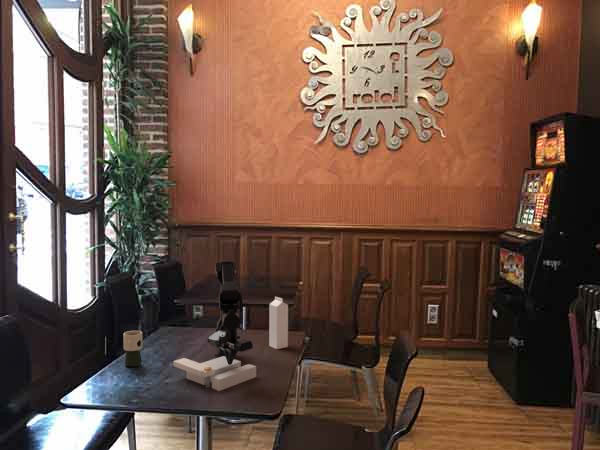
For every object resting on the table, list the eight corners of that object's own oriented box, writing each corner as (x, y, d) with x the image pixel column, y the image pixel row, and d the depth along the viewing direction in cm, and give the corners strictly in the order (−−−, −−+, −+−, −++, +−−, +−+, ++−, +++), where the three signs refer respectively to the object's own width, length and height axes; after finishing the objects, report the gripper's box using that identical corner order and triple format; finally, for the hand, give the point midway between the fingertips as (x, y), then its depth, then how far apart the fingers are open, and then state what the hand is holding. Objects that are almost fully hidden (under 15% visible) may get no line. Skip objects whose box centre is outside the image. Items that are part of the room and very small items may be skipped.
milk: (276, 349, 229) (276, 299, 227) (269, 346, 233) (269, 297, 232) (288, 347, 232) (288, 297, 230) (280, 343, 237) (280, 295, 235)
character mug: (139, 370, 202) (138, 336, 201) (120, 370, 201) (119, 336, 200) (145, 360, 212) (145, 329, 211) (127, 361, 212) (127, 329, 211)
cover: (204, 377, 182) (204, 370, 182) (173, 365, 194) (173, 359, 194) (215, 373, 186) (215, 367, 186) (184, 362, 198) (184, 356, 197)
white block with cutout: (184, 379, 193) (184, 367, 192) (223, 365, 207) (223, 355, 207) (217, 391, 181) (217, 379, 181) (256, 376, 195) (256, 365, 195)
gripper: (196, 322, 193) (196, 364, 194) (230, 331, 181) (230, 376, 182) (219, 316, 201) (219, 356, 202) (253, 325, 189) (253, 367, 190)
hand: (229, 364), depth 194 cm, fingers closed
